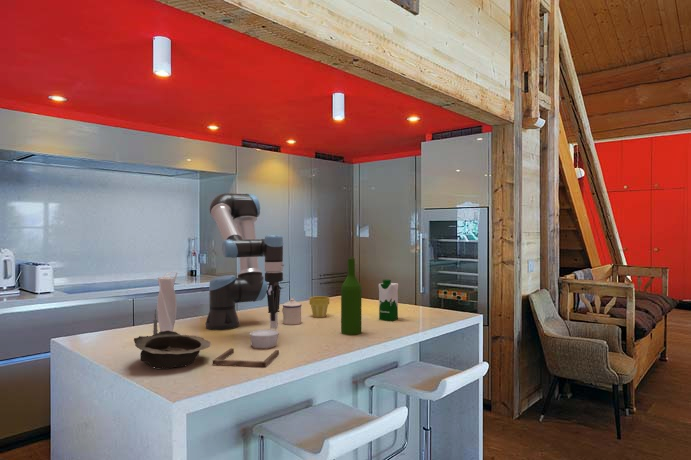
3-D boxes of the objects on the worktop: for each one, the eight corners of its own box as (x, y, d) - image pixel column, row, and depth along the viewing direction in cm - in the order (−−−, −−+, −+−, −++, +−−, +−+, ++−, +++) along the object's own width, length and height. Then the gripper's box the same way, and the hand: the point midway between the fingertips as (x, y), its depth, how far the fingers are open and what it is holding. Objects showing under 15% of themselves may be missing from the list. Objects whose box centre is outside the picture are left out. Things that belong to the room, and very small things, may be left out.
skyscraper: (172, 336, 190) (172, 270, 190) (180, 340, 184) (180, 272, 184) (152, 340, 184) (152, 272, 184) (160, 343, 178) (160, 273, 178)
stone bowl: (124, 359, 155) (127, 332, 156) (197, 353, 170) (199, 328, 170) (139, 377, 135) (141, 346, 136) (219, 369, 150) (221, 341, 150)
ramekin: (246, 344, 177) (246, 330, 177) (274, 341, 182) (274, 328, 182) (252, 351, 167) (252, 337, 167) (281, 347, 171) (281, 334, 171)
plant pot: (311, 314, 238) (311, 295, 238) (330, 314, 237) (330, 296, 237) (307, 318, 228) (307, 298, 228) (327, 318, 227) (327, 299, 227)
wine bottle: (365, 332, 196) (365, 258, 196) (352, 336, 190) (351, 259, 189) (350, 329, 202) (350, 257, 202) (336, 332, 196) (336, 258, 195)
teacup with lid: (305, 323, 216) (305, 298, 216) (290, 325, 210) (290, 301, 210) (290, 319, 225) (290, 296, 225) (275, 322, 218) (275, 298, 218)
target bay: (212, 364, 150) (212, 360, 150) (230, 352, 165) (230, 348, 165) (265, 367, 147) (265, 362, 147) (278, 354, 162) (278, 350, 162)
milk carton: (376, 320, 223) (376, 279, 223) (385, 316, 231) (385, 278, 231) (392, 321, 218) (392, 281, 218) (400, 318, 226) (400, 279, 226)
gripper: (278, 273, 180) (278, 332, 180) (286, 270, 193) (286, 325, 193) (260, 273, 181) (260, 331, 181) (269, 270, 194) (269, 324, 194)
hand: (273, 328), depth 187 cm, fingers closed
